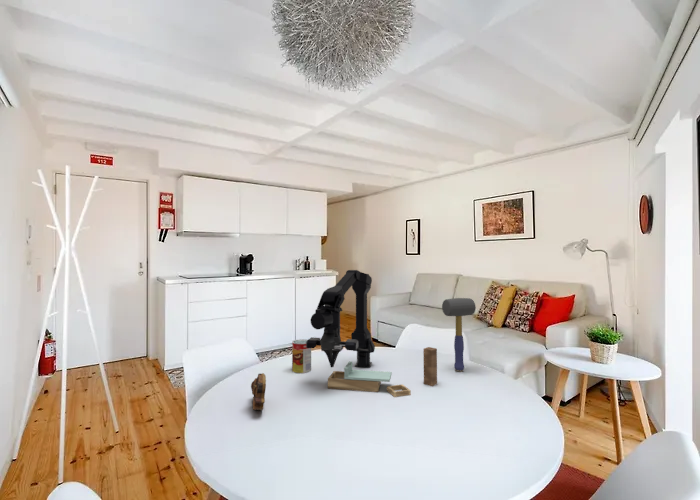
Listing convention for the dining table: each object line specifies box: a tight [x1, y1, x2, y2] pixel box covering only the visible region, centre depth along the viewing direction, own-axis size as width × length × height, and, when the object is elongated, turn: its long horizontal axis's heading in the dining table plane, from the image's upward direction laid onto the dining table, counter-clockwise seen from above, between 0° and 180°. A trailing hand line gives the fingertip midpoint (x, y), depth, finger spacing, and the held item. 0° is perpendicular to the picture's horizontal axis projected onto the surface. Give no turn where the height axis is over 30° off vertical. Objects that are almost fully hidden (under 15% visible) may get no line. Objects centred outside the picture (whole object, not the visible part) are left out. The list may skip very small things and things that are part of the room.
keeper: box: [386, 384, 412, 398], centre depth 123 cm, size 6×6×2 cm
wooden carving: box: [250, 372, 267, 411], centre depth 111 cm, size 16×5×10 cm, turn 21°
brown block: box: [423, 346, 438, 387], centre depth 132 cm, size 4×4×13 cm
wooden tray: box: [327, 370, 382, 393], centre depth 130 cm, size 9×18×4 cm, turn 79°
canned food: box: [291, 338, 312, 374], centre depth 148 cm, size 8×8×12 cm
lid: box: [343, 361, 393, 383], centre depth 129 cm, size 9×16×4 cm, turn 79°
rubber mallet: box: [441, 297, 477, 372], centre depth 148 cm, size 12×8×30 cm, turn 107°
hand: (332, 367), depth 132 cm, fingers closed
